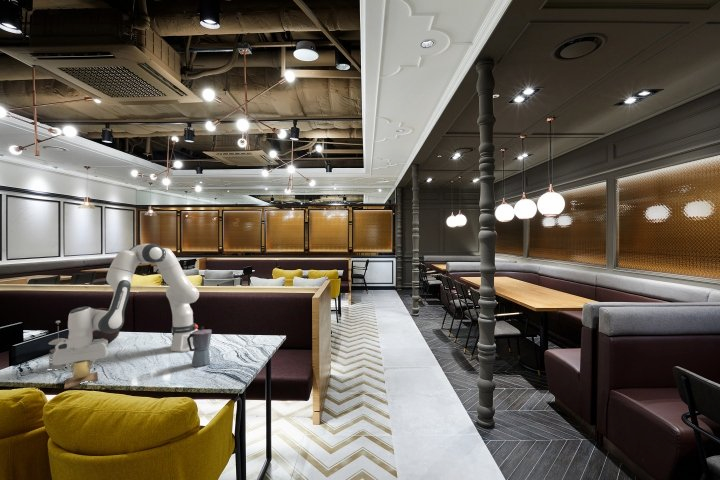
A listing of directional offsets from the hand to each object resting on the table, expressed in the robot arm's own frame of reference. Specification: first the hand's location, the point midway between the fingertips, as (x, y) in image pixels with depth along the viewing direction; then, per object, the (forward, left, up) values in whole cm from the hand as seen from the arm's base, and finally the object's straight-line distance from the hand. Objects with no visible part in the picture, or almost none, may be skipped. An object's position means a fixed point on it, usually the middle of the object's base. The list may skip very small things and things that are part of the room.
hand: (81, 369), depth 157 cm
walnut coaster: (0, 0, -5) cm, 5 cm away
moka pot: (-51, +9, -5) cm, 52 cm away
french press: (+14, -28, -5) cm, 32 cm away
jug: (+4, -58, -5) cm, 58 cm away
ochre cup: (0, 0, -3) cm, 3 cm away
